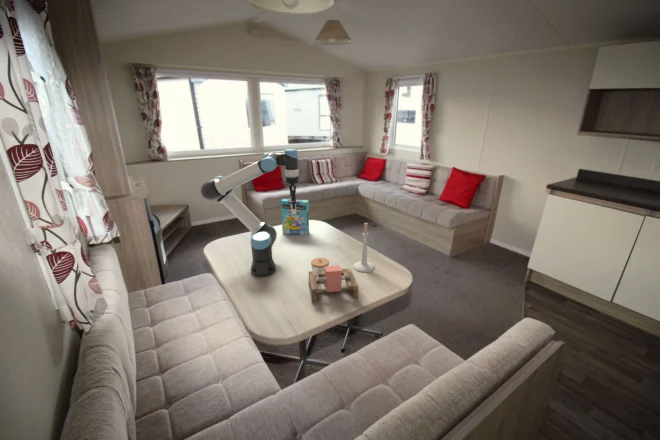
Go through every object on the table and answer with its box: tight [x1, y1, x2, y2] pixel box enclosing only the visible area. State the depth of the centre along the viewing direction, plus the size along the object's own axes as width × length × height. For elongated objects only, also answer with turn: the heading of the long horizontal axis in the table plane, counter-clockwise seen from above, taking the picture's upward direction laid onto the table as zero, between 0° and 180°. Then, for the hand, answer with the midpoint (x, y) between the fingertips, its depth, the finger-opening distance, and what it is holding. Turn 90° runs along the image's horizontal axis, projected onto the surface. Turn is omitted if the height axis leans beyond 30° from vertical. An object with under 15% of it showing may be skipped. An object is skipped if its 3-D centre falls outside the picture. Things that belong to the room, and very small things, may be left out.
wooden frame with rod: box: [308, 267, 359, 304], centre depth 165 cm, size 24×18×10 cm
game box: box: [280, 198, 310, 236], centre depth 237 cm, size 20×6×27 cm, turn 81°
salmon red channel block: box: [324, 265, 343, 293], centre depth 162 cm, size 8×6×12 cm
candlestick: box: [353, 222, 375, 273], centre depth 186 cm, size 13×13×30 cm
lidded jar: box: [310, 257, 330, 271], centre depth 183 cm, size 11×11×9 cm
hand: (293, 210), depth 187 cm, fingers open, 13 cm apart
